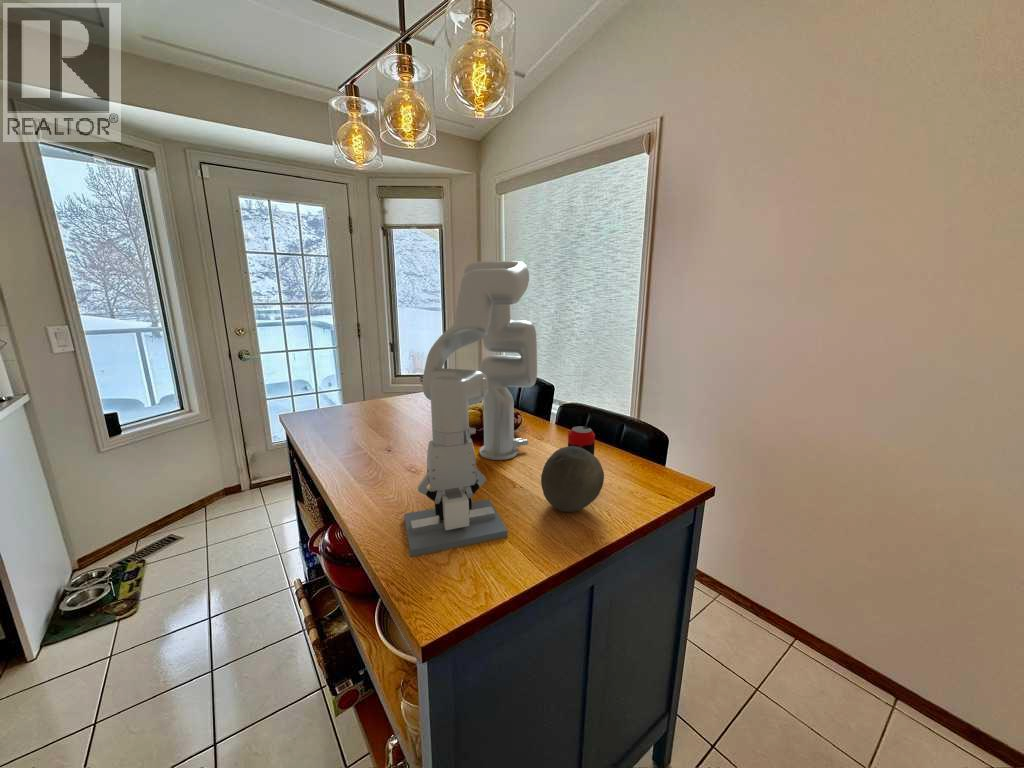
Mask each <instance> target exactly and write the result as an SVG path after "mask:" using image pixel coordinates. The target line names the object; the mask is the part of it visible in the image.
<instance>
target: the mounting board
mask: <svg viewBox="0 0 1024 768" xmlns="http://www.w3.org/2000/svg"><path fill="white" fill-rule="evenodd" d="M490 506H492V508H493V510H494V511H495V518H492V519H487V520H481V521H476V522H471V523H469V526H466V527H461V528H455V529H450V530H445V528H439V529H434V530H429V531H424V532H418V533H412V528H411V521H413V520H418V519H424V518H429V517H435V516H436V513H435V507H434V508H429V509H424V510H417V511H412V512H406V513H403V514H404V515H403V518H404V524H405V531H406V537H407V543H408V544H407V545H408V549H409V556H410V557H411V558H413V557H417V556H422V555H426V554H432V553H436V552H441V551H446V550H450V549H455V548H460V547H461V548H462V547H465V546H470V545H475V544H478V543H479V544H480V543H484V542H490V541H494V539H495V540H498V539H499V538H500V539H504V538H508V535H509V533H508V528H507V527H506V525H505V523H504V522H503V520H502V519H501V517H500V515H499V514H498V512H497V509H495V506H494V505H493V503H492V502H491V500H490V499H489V498H486V499H481V500H475V501H472V509H470V510H474V509H479V508H485V507H490ZM437 516H439V515H437Z"/></svg>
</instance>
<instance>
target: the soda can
mask: <svg viewBox="0 0 1024 768" xmlns="http://www.w3.org/2000/svg"><path fill="white" fill-rule="evenodd" d="M567 435H568V436H567V447H568V446H576V447H581V448H583V449H585V450H587V451H588V452H590V453H591V454H593V455H594V456H595V442H596V434H595V433H594V431H593V429H592V428H590V427H587V426H580V425H579V426H573V427H572V428H571V429H570V430H569V431H568V434H567Z"/></svg>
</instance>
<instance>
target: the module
mask: <svg viewBox="0 0 1024 768" xmlns="http://www.w3.org/2000/svg"><path fill="white" fill-rule="evenodd" d="M441 501H442V503H443V518H444V527H445V530H450V529H455V528H461V527H466V526H469V499H468V497H467V495H466V493H465V489H464V487H461V488H455V489H448V490H443V493H442V497H441Z"/></svg>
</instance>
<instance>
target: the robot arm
mask: <svg viewBox="0 0 1024 768" xmlns="http://www.w3.org/2000/svg"><path fill="white" fill-rule="evenodd" d="M529 272H530V271H529V269H528V267H527V265H526V264H525V263H524V262H523V261H520V260H518V261H517V260H505V261H504V260H502V261H501V260H499V261H498V260H494V261H493V260H488V261H487V260H486V261H482V260H481V261H475V262H474V261H473V262H470V263H469V264H467V265H466V266H465V267H464V272H463V273H464V274H463V276H462V277H461V280H460V281H461V282H460V285H459V292H458V295H457V296H458V297H457V302H456V306H455V307H456V308H455V311H454V312H455V313H454V319H453V323H452V325H451V326H450V327H449V328H448V329H447V330H445V331H444V332H443V333H442V334H441V335H440V336H439V337H438V338H437V340H436V341H435V342H434V343H433V345H432V346H431V348H430V349H429V351H428V353H427V357H426V362H425V365H424V370H423V375H422V391H423V392H422V393H423V394H424V397H426V399H427V400H429V401H430V408H431V409H430V410H431V411H430V412H431V433H432V434H431V435H432V440H430V441H429V442H428V447H427V453H426V475H425V476H424V477H423V478H422V480H421V481H420V483H419V484H418V486H417V488H416V489H417V492H418V493H420V494H422V495H424V496H427V498H429V499H430V500H431V501H433V502H434V508H435V513H436V516H437V515H439V518H440V521H441V520H443V519H444V518H443V503H442V501H441V497H442V493H443V490H448V489H455V488H461V487H463V489H464V491H465V493H466V495H467V497H468V499H469V510H470V509H472V502H473V501H472V499H473V498H474V495H475V494H476V492H477V491H478V490H479V489H480V487H482V486H483V484H485V482H486V481H487V478H486V476H485V475H484V474H483V473H482V472H481V471H480V470H479V469H478V468H477V460H476V453H475V448H474V443H473V439H472V438H471V436H472V435H476V433H477V432H476V431H477V430H476V427H471V426H470V424H469V423H470V422H469V420H470V419H469V407H470V406H473V405H477V404H479V403H480V402H482V401H483V445H482V446H481V447H479V456H481V457H482V458H484V459H487V460H492V461H504V460H510V459H513V458H515V457H516V456H518V455H519V452H520V451H519V447H521V446H522V447H525V446H529V440H528V439H523V438H522V437H517V438H515V434H514V433H515V428H514V427H515V424H514V422H515V421H514V419H515V413H514V411H515V410H514V409H515V407H514V406H515V403H514V397H513V395H512V393H511V392H510V390H509V389H508V387H510V388H532V386H534V385H535V384H536V382H537V379H538V349H537V348H538V346H537V345H538V342H537V340H538V339H537V331H536V328H535V325H534V324H533V323H532V322H531V321H528V320H516V319H515V320H513V319H512V317H511V305H516V304H518V302H519V301H520V300H521V298H522V297H523V295H524V294H525V292H526V291H527V289H528V287H529V282H530V273H529ZM481 340H482V343H483V346H484V349H486V350H487V351H488V352H492V353H507V354H501V355H500V354H492V355H487V356H486V357H484V358H483V359H481V361H480V364H479V370H476V369H464V368H463V369H462V368H446V367H444V365H445V363H446V361H447V359H448V358H450V357H451V355H452V354H454V352H456V351H458V350H460V349H462V348H464V347H467V346H468V345H471V344H473V343H476V342H479V341H481ZM509 353H510V354H511V353H512V354H519V355H508V354H509ZM428 486H429V488H428Z"/></svg>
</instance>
